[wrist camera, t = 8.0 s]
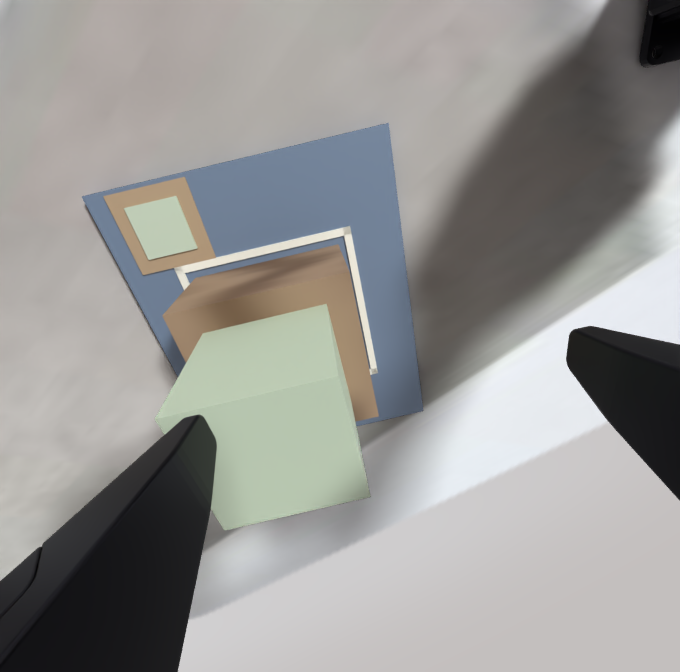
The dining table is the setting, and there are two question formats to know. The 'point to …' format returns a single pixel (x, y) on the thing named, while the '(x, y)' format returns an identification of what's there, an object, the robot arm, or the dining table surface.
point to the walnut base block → (280, 308)
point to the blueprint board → (277, 239)
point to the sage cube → (273, 417)
